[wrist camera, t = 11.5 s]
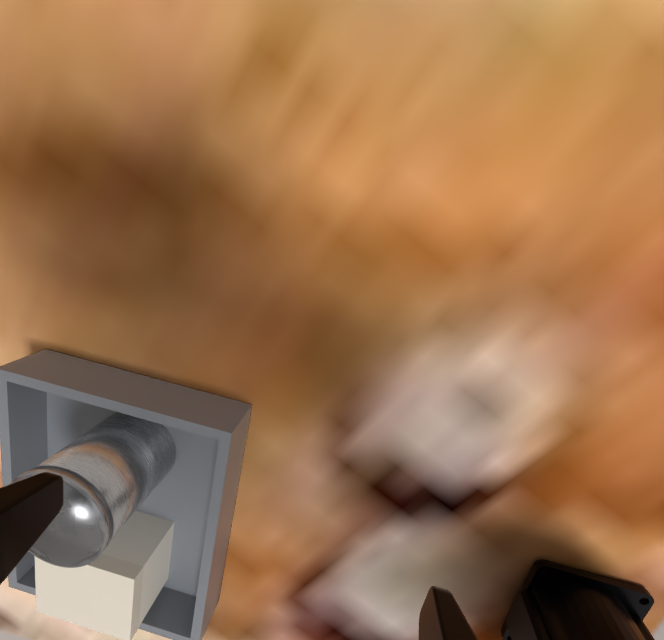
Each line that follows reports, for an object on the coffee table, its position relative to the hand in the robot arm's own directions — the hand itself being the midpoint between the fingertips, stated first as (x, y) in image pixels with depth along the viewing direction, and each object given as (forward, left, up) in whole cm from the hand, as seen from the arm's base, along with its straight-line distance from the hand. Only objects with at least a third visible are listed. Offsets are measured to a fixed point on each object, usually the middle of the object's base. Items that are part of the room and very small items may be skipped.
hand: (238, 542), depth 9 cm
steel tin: (+10, +9, -11) cm, 17 cm away
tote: (+10, +12, -12) cm, 20 cm away
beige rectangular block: (+10, +16, -11) cm, 22 cm away
